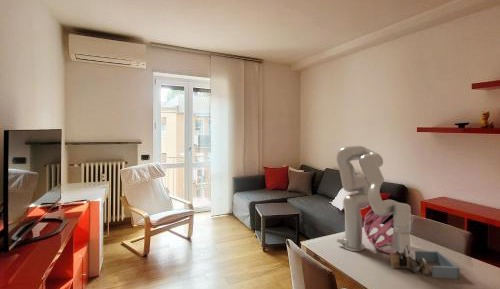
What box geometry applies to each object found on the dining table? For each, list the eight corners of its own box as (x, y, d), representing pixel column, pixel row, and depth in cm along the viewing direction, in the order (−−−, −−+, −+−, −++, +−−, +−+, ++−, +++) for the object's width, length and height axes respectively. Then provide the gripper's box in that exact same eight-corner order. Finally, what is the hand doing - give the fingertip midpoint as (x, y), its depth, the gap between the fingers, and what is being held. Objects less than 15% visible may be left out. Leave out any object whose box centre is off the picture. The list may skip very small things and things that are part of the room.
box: (433, 277, 123) (433, 267, 123) (414, 259, 141) (414, 250, 140) (459, 278, 122) (459, 268, 122) (437, 260, 139) (437, 251, 139)
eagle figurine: (406, 264, 134) (416, 269, 125) (413, 251, 134) (423, 256, 125) (420, 273, 133) (431, 279, 124) (427, 260, 133) (438, 266, 124)
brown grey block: (396, 272, 128) (395, 260, 128) (387, 261, 139) (386, 250, 139) (418, 272, 127) (417, 260, 127) (407, 261, 138) (407, 249, 138)
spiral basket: (439, 223, 139) (396, 187, 157) (402, 245, 129) (361, 204, 148) (416, 250, 157) (381, 215, 176) (382, 271, 147) (348, 231, 166)
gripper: (387, 222, 141) (387, 256, 142) (400, 234, 125) (400, 272, 125) (402, 222, 140) (402, 256, 141) (417, 234, 124) (417, 273, 124)
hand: (401, 263), depth 133 cm, fingers closed on brown grey block, 3 cm apart
